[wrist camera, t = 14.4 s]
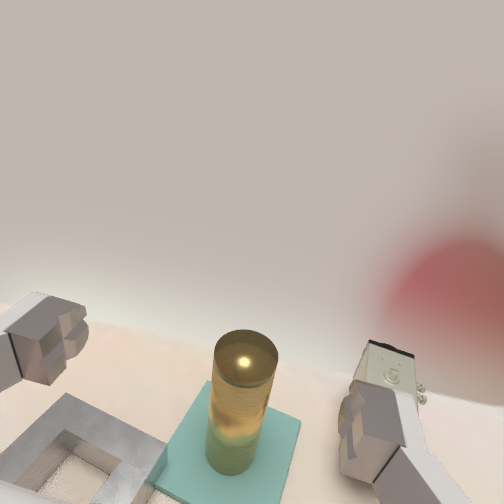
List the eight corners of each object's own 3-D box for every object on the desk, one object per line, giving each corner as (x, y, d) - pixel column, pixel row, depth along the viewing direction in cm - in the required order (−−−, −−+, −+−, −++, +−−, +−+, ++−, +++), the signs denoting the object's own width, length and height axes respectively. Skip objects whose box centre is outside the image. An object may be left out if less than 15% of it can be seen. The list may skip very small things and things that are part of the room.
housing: (-57, 549, 25) (-77, 526, 23) (71, 416, 35) (65, 392, 33) (64, 642, 22) (53, 625, 20) (167, 467, 32) (167, 444, 30)
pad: (146, 483, 30) (145, 478, 30) (207, 384, 40) (207, 380, 40) (266, 549, 27) (267, 545, 27) (299, 425, 37) (301, 421, 37)
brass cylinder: (195, 460, 32) (202, 363, 25) (219, 416, 36) (230, 322, 29) (244, 486, 30) (266, 390, 23) (262, 436, 35) (285, 342, 28)
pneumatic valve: (328, 485, 32) (365, 412, 26) (344, 392, 42) (373, 323, 36) (386, 513, 31) (438, 442, 25) (388, 410, 40) (426, 341, 34)
